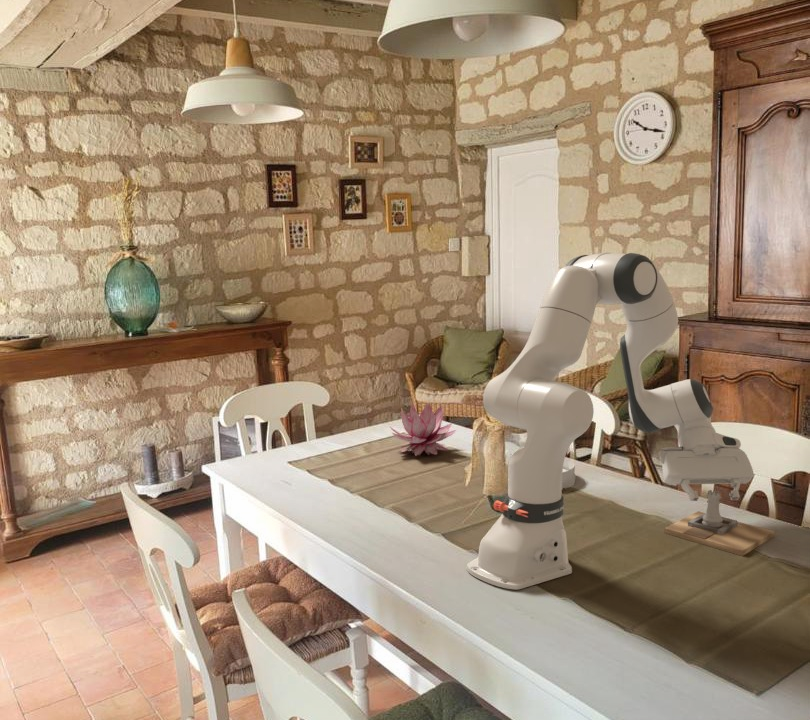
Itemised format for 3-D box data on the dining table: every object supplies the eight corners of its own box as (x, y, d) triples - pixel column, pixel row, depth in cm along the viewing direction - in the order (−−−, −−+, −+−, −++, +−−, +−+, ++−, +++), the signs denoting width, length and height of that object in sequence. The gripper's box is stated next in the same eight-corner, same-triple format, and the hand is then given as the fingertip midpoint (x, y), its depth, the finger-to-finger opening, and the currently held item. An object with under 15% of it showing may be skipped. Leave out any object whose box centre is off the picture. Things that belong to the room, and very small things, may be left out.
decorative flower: (385, 445, 250) (384, 402, 248) (446, 442, 254) (446, 399, 252) (395, 463, 229) (395, 415, 227) (462, 459, 233) (463, 412, 231)
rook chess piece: (705, 520, 175) (706, 487, 174) (725, 524, 172) (726, 491, 171) (699, 526, 171) (701, 492, 170) (719, 530, 169) (721, 496, 167)
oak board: (742, 556, 158) (743, 546, 158) (664, 532, 171) (664, 523, 171) (774, 536, 168) (774, 527, 168) (698, 516, 182) (698, 507, 181)
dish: (576, 494, 199) (576, 476, 199) (493, 490, 204) (493, 472, 203) (574, 470, 221) (574, 454, 220) (499, 467, 225) (499, 451, 225)
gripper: (660, 440, 176) (674, 493, 167) (746, 439, 176) (764, 492, 168) (653, 453, 181) (666, 506, 173) (736, 452, 181) (753, 504, 173)
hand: (715, 499), depth 170 cm, fingers open, 8 cm apart
